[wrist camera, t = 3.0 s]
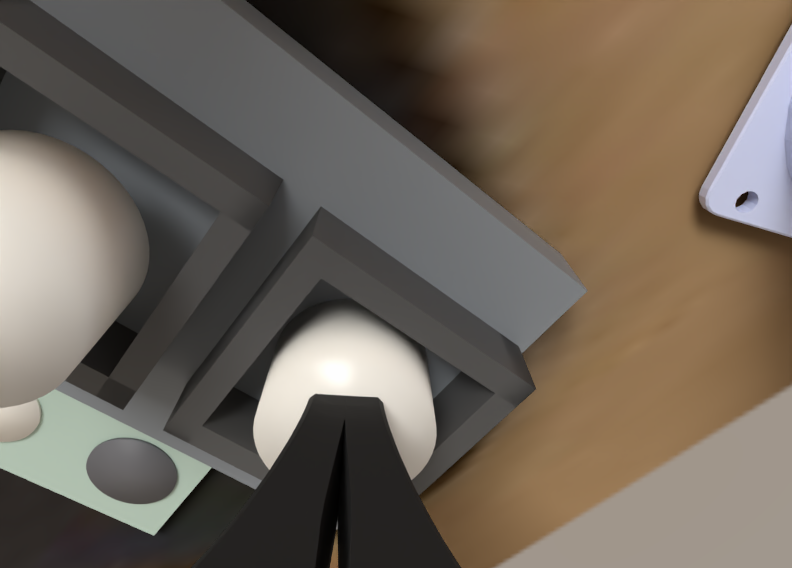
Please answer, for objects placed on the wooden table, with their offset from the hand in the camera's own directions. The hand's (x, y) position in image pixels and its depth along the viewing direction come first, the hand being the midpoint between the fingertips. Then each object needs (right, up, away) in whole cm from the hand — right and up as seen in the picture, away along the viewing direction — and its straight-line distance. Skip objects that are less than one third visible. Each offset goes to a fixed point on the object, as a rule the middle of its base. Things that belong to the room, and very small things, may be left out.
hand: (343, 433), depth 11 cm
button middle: (-5, +4, -1) cm, 6 cm away
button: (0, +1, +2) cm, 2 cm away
